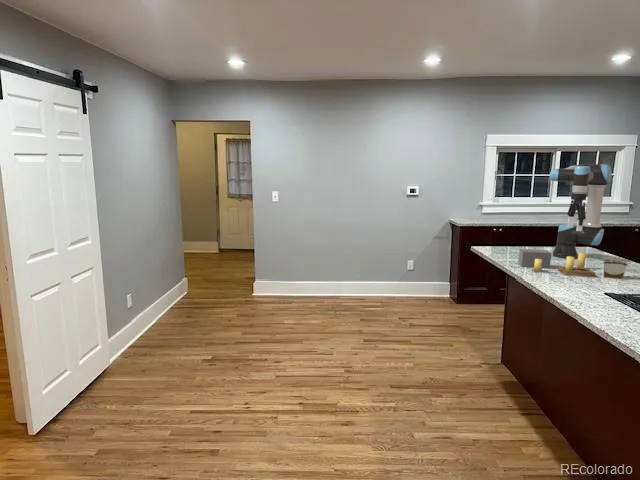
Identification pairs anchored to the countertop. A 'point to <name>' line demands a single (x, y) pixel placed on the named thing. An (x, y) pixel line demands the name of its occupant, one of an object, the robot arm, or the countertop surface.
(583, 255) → the peg
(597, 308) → the countertop surface
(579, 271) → the socket board
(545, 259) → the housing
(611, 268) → the food container
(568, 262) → the peg
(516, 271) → the countertop surface
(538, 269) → the grey and yellow fixture
